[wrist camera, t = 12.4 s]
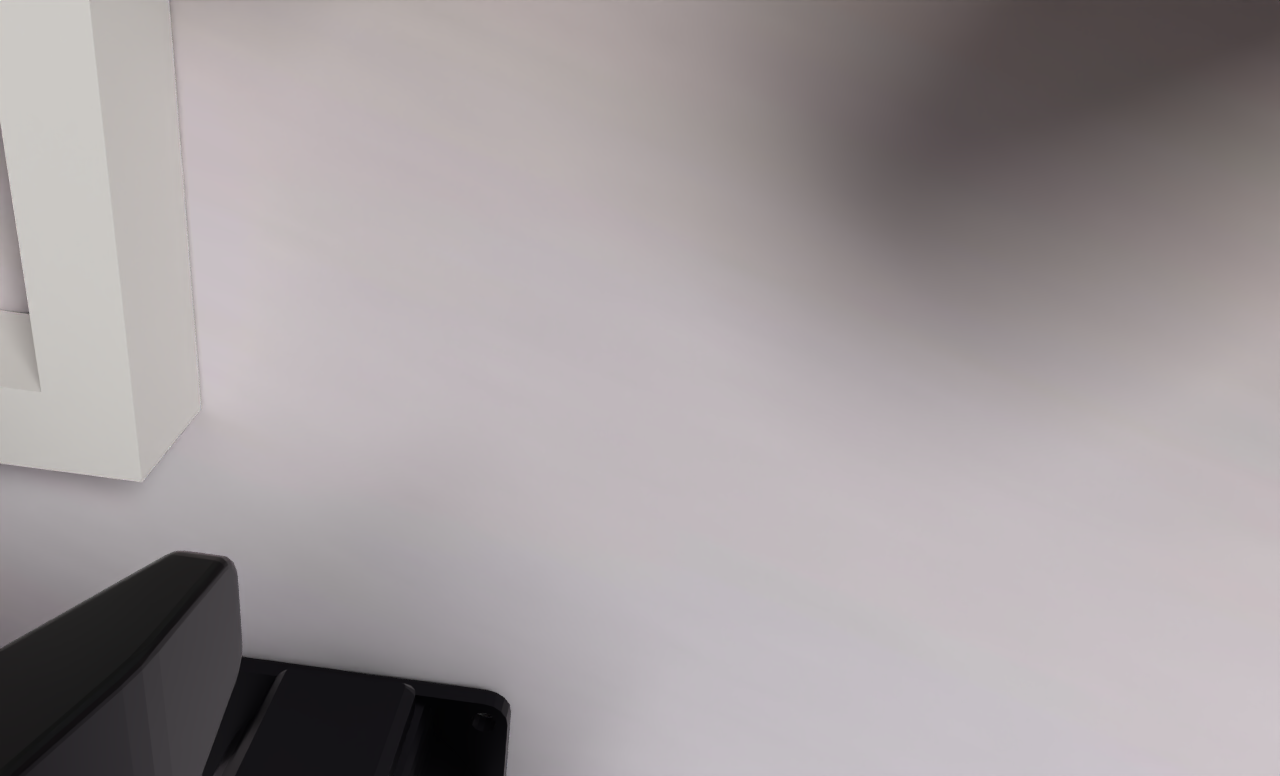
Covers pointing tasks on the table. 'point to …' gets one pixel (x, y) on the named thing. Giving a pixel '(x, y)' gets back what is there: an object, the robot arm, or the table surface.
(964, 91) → the table surface
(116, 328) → the dispenser
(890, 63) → the table surface
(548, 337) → the table surface
